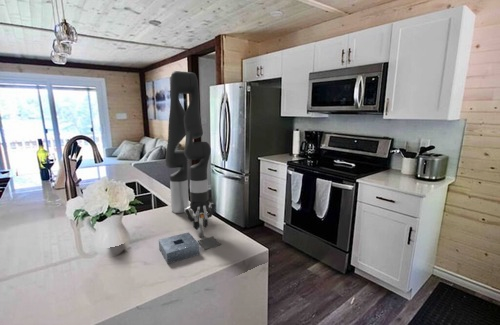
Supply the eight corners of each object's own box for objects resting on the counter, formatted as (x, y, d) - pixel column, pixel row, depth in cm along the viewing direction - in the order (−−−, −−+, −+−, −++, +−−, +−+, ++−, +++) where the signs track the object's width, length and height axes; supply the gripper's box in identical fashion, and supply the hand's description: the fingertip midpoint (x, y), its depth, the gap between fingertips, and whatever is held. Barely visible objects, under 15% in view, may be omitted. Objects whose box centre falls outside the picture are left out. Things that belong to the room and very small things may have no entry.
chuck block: (159, 249, 102) (158, 239, 101) (189, 241, 108) (188, 232, 107) (167, 263, 92) (166, 253, 91) (199, 254, 98) (199, 244, 97)
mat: (197, 241, 108) (197, 240, 108) (213, 237, 111) (213, 236, 111) (205, 249, 101) (205, 248, 101) (221, 244, 105) (221, 244, 105)
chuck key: (196, 234, 114) (195, 210, 112) (201, 233, 115) (200, 209, 113) (200, 238, 110) (199, 214, 108) (205, 237, 111) (204, 213, 109)
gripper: (211, 185, 116) (212, 221, 119) (179, 189, 108) (181, 228, 111) (218, 189, 109) (219, 227, 113) (185, 194, 102) (187, 235, 105)
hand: (200, 227), depth 112 cm, fingers open, 3 cm apart
